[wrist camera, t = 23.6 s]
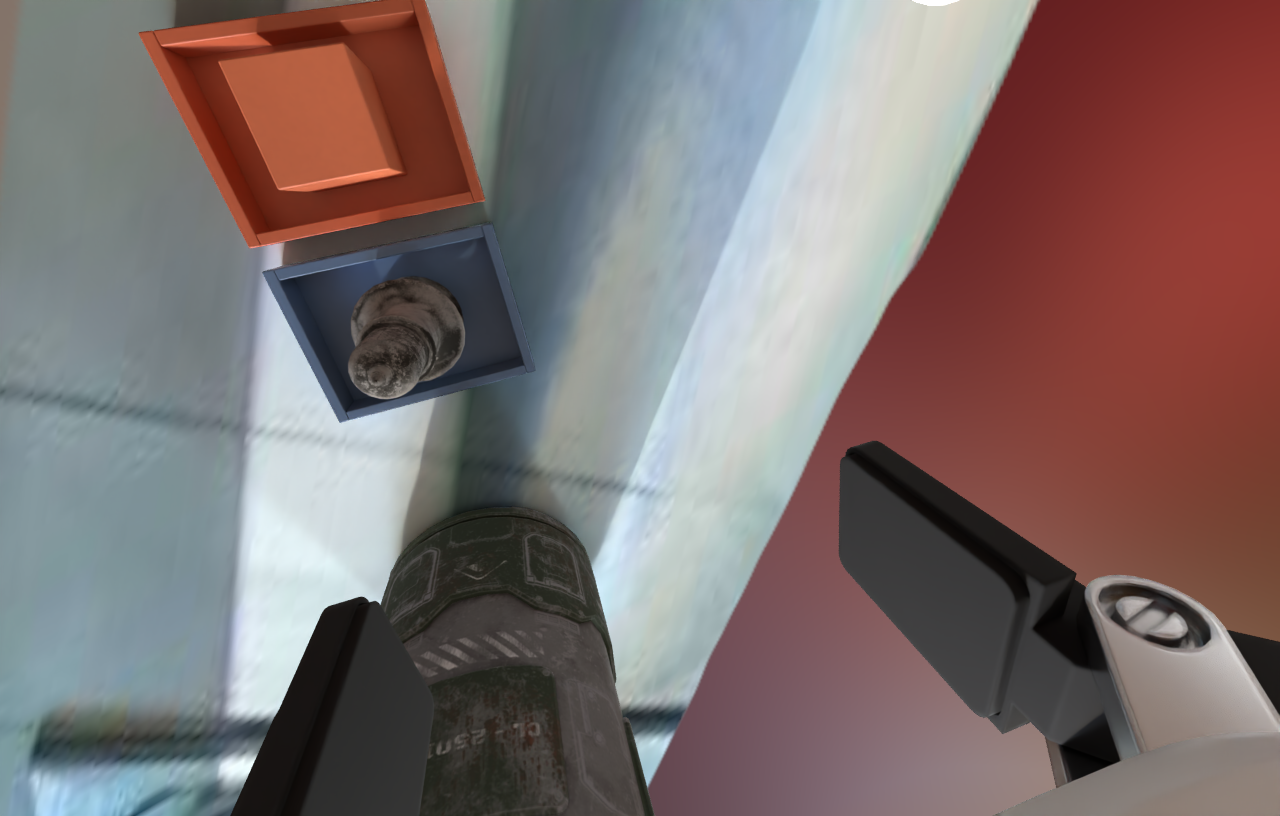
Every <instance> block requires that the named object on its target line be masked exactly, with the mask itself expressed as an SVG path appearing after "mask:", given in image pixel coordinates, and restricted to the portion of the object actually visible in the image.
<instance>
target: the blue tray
mask: <svg viewBox="0 0 1280 816" xmlns="http://www.w3.org/2000/svg"><path fill="white" fill-rule="evenodd" d="M262 273H263V275H264V277H265V279H266V281H267V283H268V285H269V287H270V289H271V291H272V293H273V295H274V297H275V298H276V300H277V302H278V304H279V306H280V308H281V310H282V312H283V314H284V316H285V318H286V320H287V322H288V324H289V326H290V327H291V329H292V331H293V333H294V335H295V337H296V339H297V341H298V343H299V345H300V347H301V349H302V351H303V353H304V355H305V356H306V358H307V360H308V362H309V364H310V366H311V368H312V370H313V372H314V374H315V376H316V378H317V380H318V382H319V384H320V385H321V387H322V389H323V391H324V393H325V395H326V397H327V399H328V401H329V403H330V405H331V407H332V409H333V411H334V413H335V414H336V416H337V418H338V420H339V422H340V423H342V422H345V421H349V420H353V419H357V418H360V417H364V416H368V415H372V414H375V413H379V412H383V411H387V410H390V409H394V408H398V407H402V406H406V405H409V404H413V403H417V402H421V401H424V400H428V399H432V398H436V397H439V396H443V395H447V394H451V393H454V392H458V391H462V390H466V389H469V388H473V387H477V386H481V385H485V384H488V383H492V382H496V381H500V380H503V379H507V378H511V377H515V376H518V375H522V374H526V372H527V373H530V372H533V371H535V366H534V361H533V357H532V354H531V351H530V347H529V344H528V341H527V337H526V334H525V331H524V327H523V324H522V321H521V317H520V314H519V311H518V307H517V304H516V301H515V297H514V294H513V291H512V287H511V284H510V281H509V277H508V274H507V271H506V267H505V264H504V261H503V257H502V254H501V250H500V247H499V244H498V240H497V237H496V234H495V230H494V227H493V224H492V222H489V223H484V224H479V225H474V226H470V227H465V228H460V229H455V230H451V231H446V232H441V233H436V234H432V235H427V236H422V237H418V238H413V239H408V240H403V241H399V242H394V243H389V244H384V245H380V246H375V247H370V248H365V249H361V250H356V251H351V252H347V253H342V254H337V255H332V256H328V257H323V258H318V259H313V260H309V261H304V262H299V263H294V264H290V265H285V266H280V267H277V268H274V269H270V270H267V271H263V272H262ZM408 276H418V277H425V278H428V279H431V280H433V281H436V282H438V283H440V284H441V285H442V286H444V287H445V288H447V289H448V290H449V291H450V292H451V293H452V294H453V296H454V297H455V298H456V299H457V301H458V303H459V305H460V307H461V310H462V314H463V318H464V322H463V324H464V328H465V345H464V348H463V350H462V353H461V356H460V358H459V359H458V360H457V362H456V363H455V365H454V366H453V367H452V368H451V369H449V370H448V371H447V372H446V373H444V374H443V375H441V376H439V377H436V378H434V379H431V380H427V381H420V382H417V383H416V385H415V386H414V387H413V389H411V390H410V391H409V392H407V393H406V394H404V395H402V396H399V397H397V398H392V399H379V398H375V397H372V396H369V395H367V394H365V393H363V392H362V391H361V390H360V389H358V388H357V387H356V386H355V384H354V383H353V382H352V380H351V378H350V375H349V372H348V362H349V359H350V355H351V353H352V352H353V350H354V349H355V344H354V341H353V338H352V335H351V317H352V313H353V310H354V306H355V305H356V303H357V302H358V301H359V299H360V298H361V296H362V295H363V294H364V293H365V292H367V291H368V290H369V289H371V288H372V287H373V286H375V285H377V284H380V283H383V282H385V281H388V280H396V279H398V278H401V277H408Z"/></svg>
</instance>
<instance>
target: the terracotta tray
mask: <svg viewBox="0 0 1280 816" xmlns="http://www.w3.org/2000/svg"><path fill="white" fill-rule="evenodd" d="M139 35H140V37H141V39H142V41H143V43H144V45H145V47H146V49H147V51H148V53H149V55H150V57H151V59H152V61H153V63H154V64H155V66H156V68H157V70H158V72H159V74H160V76H161V78H162V80H163V82H164V84H165V86H166V88H167V90H168V92H169V94H170V95H171V97H172V99H173V101H174V103H175V105H176V107H177V109H178V111H179V113H180V115H181V117H182V119H183V121H184V123H185V124H186V126H187V128H188V130H189V132H190V134H191V136H192V138H193V140H194V142H195V144H196V146H197V148H198V150H199V152H200V153H201V155H202V157H203V159H204V161H205V163H206V165H207V167H208V169H209V171H210V173H211V175H212V177H213V179H214V181H215V182H216V184H217V186H218V188H219V190H220V192H221V194H222V196H223V198H224V200H225V202H226V204H227V206H228V208H229V210H230V211H231V213H232V215H233V217H234V219H235V221H236V223H237V225H238V227H239V229H240V231H241V233H242V235H243V237H244V239H245V240H246V242H247V244H248V246H249V248H255V247H261V246H267V245H272V244H277V243H282V242H287V241H291V240H296V239H301V238H306V237H311V236H316V235H321V234H326V233H331V232H336V231H341V230H345V229H350V228H355V227H360V226H365V225H370V224H375V223H380V222H385V221H390V220H394V219H399V218H404V217H409V216H414V215H419V214H424V213H429V212H434V211H439V210H444V209H448V208H453V207H458V206H463V205H468V204H473V203H478V202H483V201H485V197H484V194H483V190H482V187H481V184H480V180H479V177H478V174H477V170H476V167H475V164H474V160H473V157H472V154H471V150H470V147H469V143H468V140H467V137H466V133H465V130H464V127H463V123H462V120H461V117H460V113H459V110H458V107H457V103H456V100H455V97H454V93H453V90H452V87H451V83H450V80H449V77H448V73H447V70H446V67H445V63H444V60H443V57H442V53H441V50H440V46H439V43H438V40H437V36H436V33H435V30H434V26H433V23H432V20H431V16H430V13H429V11H428V8H427V5H426V2H425V0H381V1H373V2H366V3H358V4H351V5H343V6H335V7H328V8H320V9H313V10H305V11H297V12H290V13H282V14H275V15H267V16H259V17H252V18H244V19H237V20H229V21H221V22H214V23H206V24H199V25H191V26H183V27H176V28H168V29H161V30H155V31H145V32H139ZM340 42H343V43H345V45H346V46H347V47H348V48H349V49H350V50H351V51H352V52H353V53H354V54H355V55H356V56H357V57H358V58H359V59H360V60H361V61H362V62H363V63H364V64H365V65H366V66H367V67H368V68H369V69H370V70H371V72H372V75H373V77H374V80H375V83H376V86H377V89H378V91H379V94H380V97H381V100H382V103H383V106H384V108H385V111H386V114H387V117H388V120H389V122H390V125H391V128H392V131H393V134H394V136H395V139H396V142H397V145H398V148H399V150H400V153H401V156H402V159H403V162H404V164H405V167H406V170H407V175H405V176H399V177H394V178H389V179H384V180H378V181H373V182H368V183H363V184H357V185H352V186H347V187H342V188H336V189H331V190H326V191H320V192H303V191H286V190H279V189H278V188H277V186H276V184H275V182H274V180H273V178H272V176H271V173H270V171H269V169H268V167H267V165H266V163H265V161H264V158H263V156H262V154H261V152H260V150H259V148H258V146H257V144H256V141H255V139H254V137H253V135H252V133H251V131H250V129H249V126H248V124H247V122H246V120H245V118H244V116H243V114H242V112H241V109H240V107H239V105H238V103H237V101H236V99H235V97H234V94H233V92H232V90H231V88H230V86H229V84H228V82H227V79H226V77H225V75H224V73H223V71H222V69H221V67H220V65H219V62H218V61H219V60H221V59H228V58H235V57H242V56H249V55H256V54H263V53H270V52H277V51H284V50H291V49H298V48H305V47H312V46H319V45H326V44H333V43H340Z"/></svg>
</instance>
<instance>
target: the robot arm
mask: <svg viewBox="0 0 1280 816" xmlns="http://www.w3.org/2000/svg"><path fill="white" fill-rule="evenodd" d="M912 1H914V2H918V3H921V4H925V5H929V6H930V5H946V4H950V3H953V2H956V1H960V0H912ZM839 508H840V510H839V513H840V514H839V557H840V560H841V562H842V565H843V566H844V568H845V569H846V571H847V572H848V573H849V574H850V575H851V576H852V577H853V579H854V580H855V581H856V582H857V583H858V584H859V585H860V586H861V588H862V589H863V590H864V591H865V592H866V593H867V594H868V595H869V596H870V598H871V599H872V600H873V601H874V602H875V603H876V604H877V605H878V606H879V607H880V609H881V610H882V611H883V612H884V613H885V614H886V615H887V617H889V619H890V620H891V621H892V622H893V623H894V624H895V625H896V627H897V628H898V629H899V630H900V631H901V632H902V633H903V634H904V635H905V636H906V638H907V639H908V640H909V641H910V642H911V643H912V644H913V646H914V647H915V648H916V649H917V650H918V651H919V652H920V653H921V654H922V655H923V657H924V658H925V659H926V660H927V661H928V662H929V663H930V664H931V666H933V668H934V669H935V670H936V671H937V672H938V673H939V674H940V676H941V677H942V678H943V679H944V680H945V681H946V682H947V683H948V685H949V686H951V688H952V689H953V690H954V691H955V692H956V693H957V695H958V696H959V697H960V698H961V699H962V700H963V701H964V702H965V703H966V704H967V706H968V707H969V708H970V709H971V710H972V711H973V712H974V713H975V714H977V715H978V716H980V717H983V718H985V717H987V718H988V719H990V721H991V722H992V723H993V724H994V725H995V726H996V727H997V728H998V730H999V731H1000V732H1001V733H1002V734H1004V733H1007V732H1009V731H1011V730H1013V729H1016V728H1018V727H1021V726H1023V725H1025V724H1028V723H1029V722H1031V723H1032V724H1033V725H1034V726H1035V727H1036V728H1037V729H1038V730H1039V731H1040V732H1041V733H1042V734H1043V735H1044V736H1045V739H1046V743H1047V748H1048V752H1049V757H1050V761H1051V766H1052V770H1053V775H1054V779H1055V784H1056V788H1055V789H1053V790H1050V791H1048V792H1046V793H1043V794H1041V795H1038V796H1036V797H1034V798H1031V799H1029V800H1027V801H1025V802H1022V803H1020V804H1018V805H1016V806H1013V807H1011V808H1009V809H1007V810H1004V811H1002V812H1000V813H998V814H996V815H993V816H1280V642H1278V641H1273V640H1269V639H1264V638H1260V637H1256V636H1251V635H1247V634H1242V633H1238V632H1234V631H1230V630H1226V629H1225V627H1224V626H1223V625H1222V623H1221V622H1220V621H1219V620H1218V619H1217V618H1216V616H1215V615H1214V614H1213V613H1212V612H1211V611H1209V610H1208V609H1206V608H1205V607H1204V606H1202V605H1201V604H1200V603H1199V602H1197V601H1196V600H1194V599H1192V598H1191V597H1189V596H1187V595H1185V594H1183V593H1181V592H1179V591H1178V590H1176V589H1173V588H1170V587H1168V586H1165V585H1163V584H1160V583H1158V582H1155V581H1151V580H1147V579H1143V578H1138V577H1134V576H1122V575H1111V576H1104V577H1099V578H1097V579H1096V580H1093V581H1092V582H1090V583H1089V585H1088V586H1087V588H1086V587H1085V586H1084V585H1082V584H1081V583H1079V582H1078V581H1076V580H1075V577H1076V573H1075V572H1074V571H1072V570H1071V569H1069V568H1068V567H1066V566H1065V565H1063V564H1062V563H1060V562H1059V561H1057V560H1056V559H1054V558H1053V557H1051V556H1050V555H1048V554H1047V553H1045V552H1044V551H1042V550H1041V549H1039V548H1038V547H1036V546H1035V545H1033V544H1032V543H1030V542H1029V541H1027V540H1026V539H1024V538H1023V537H1021V536H1020V535H1018V534H1017V533H1015V532H1014V531H1012V530H1011V529H1009V528H1008V527H1006V526H1005V525H1003V524H1002V523H1000V522H999V521H997V520H996V519H994V518H993V517H991V516H990V515H988V514H987V513H985V512H984V511H983V510H981V509H980V508H978V507H976V506H975V505H973V504H972V503H970V502H969V501H967V500H966V499H965V498H963V497H962V496H960V495H958V494H957V493H956V492H954V491H952V490H951V489H950V488H948V487H947V486H945V485H944V484H942V483H941V482H939V481H938V480H936V479H934V478H933V477H932V476H930V475H929V474H927V473H926V472H924V471H923V470H921V469H920V468H918V467H917V466H915V465H914V464H912V463H911V462H909V461H908V460H906V459H905V458H903V457H902V456H900V455H899V454H897V453H896V452H894V451H893V450H891V449H890V448H888V447H887V446H885V445H884V444H882V443H880V442H878V441H871V442H867V443H864V444H861V445H858V446H854V447H851V448H849V449H848V450H847V452H846V455H845V457H843V458H842V459H841V462H840V507H839ZM433 715H434V702H433V697H432V693H431V691H430V689H429V687H428V686H427V684H426V682H425V681H424V679H423V677H422V675H421V674H420V672H419V670H418V669H417V667H416V665H415V663H414V662H413V660H412V658H411V657H410V655H409V653H408V652H407V650H406V648H405V646H404V645H403V643H402V641H401V640H400V638H399V636H398V634H397V633H396V631H395V629H394V628H393V626H392V624H391V622H390V621H389V619H388V617H387V616H386V614H385V612H384V610H383V609H382V607H381V605H380V604H379V603H378V602H376V601H373V602H369V601H368V600H367V599H366V598H364V597H358V598H354V599H351V600H348V601H345V602H341V603H338V604H335V605H331V606H328V607H327V608H325V609H324V611H323V612H322V614H321V616H320V618H319V621H318V623H317V625H316V628H315V630H314V632H313V634H312V637H311V639H310V641H309V643H308V646H307V648H306V650H305V652H304V655H303V657H302V659H301V661H300V664H299V666H298V668H297V670H296V673H295V675H294V677H293V679H292V682H291V684H290V686H289V688H288V691H287V693H286V695H285V697H284V700H283V702H282V704H281V707H280V709H279V711H278V712H277V714H276V716H275V717H274V719H273V721H272V724H271V726H270V728H269V730H268V733H267V735H266V737H265V739H264V742H263V744H262V746H261V748H260V751H259V753H258V755H257V757H256V760H255V762H254V764H253V766H252V769H251V771H250V773H249V775H248V777H247V780H246V782H245V784H244V786H243V789H242V791H241V793H240V795H239V798H238V800H237V802H236V804H235V807H234V809H233V811H232V813H231V816H419V814H420V807H421V799H422V792H423V785H424V778H425V771H426V764H427V757H428V750H429V743H430V736H431V729H432V722H433Z"/></svg>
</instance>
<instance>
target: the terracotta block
mask: <svg viewBox="0 0 1280 816" xmlns="http://www.w3.org/2000/svg"><path fill="white" fill-rule="evenodd" d="M218 62H219V65H220V67H221V69H222V71H223V73H224V75H225V77H226V79H227V82H228V84H229V86H230V88H231V90H232V92H233V94H234V97H235V99H236V101H237V103H238V105H239V107H240V109H241V112H242V114H243V116H244V118H245V120H246V122H247V124H248V126H249V129H250V131H251V133H252V135H253V137H254V139H255V141H256V144H257V146H258V148H259V150H260V152H261V154H262V156H263V158H264V161H265V163H266V165H267V167H268V169H269V171H270V173H271V176H272V178H273V180H274V182H275V184H276V186H277V188H278V189H279V190H286V191H303V192H320V191H326V190H331V189H336V188H342V187H347V186H352V185H357V184H363V183H368V182H373V181H378V180H384V179H389V178H394V177H399V176H405V175H407V170H406V167H405V164H404V162H403V159H402V156H401V153H400V150H399V148H398V145H397V142H396V139H395V136H394V134H393V131H392V128H391V125H390V122H389V120H388V117H387V114H386V111H385V108H384V106H383V103H382V100H381V97H380V94H379V91H378V89H377V86H376V83H375V80H374V77H373V75H372V72H371V70H370V69H369V68H368V67H367V66H366V65H365V64H364V63H363V62H362V61H361V60H360V59H359V58H358V57H357V56H356V55H355V54H354V53H353V52H352V51H351V50H350V49H349V48H348V47H347V46H346V45H345V43H343V42H340V43H333V44H326V45H319V46H312V47H305V48H298V49H291V50H284V51H277V52H270V53H263V54H256V55H249V56H242V57H235V58H228V59H221V60H219V61H218Z"/></svg>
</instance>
